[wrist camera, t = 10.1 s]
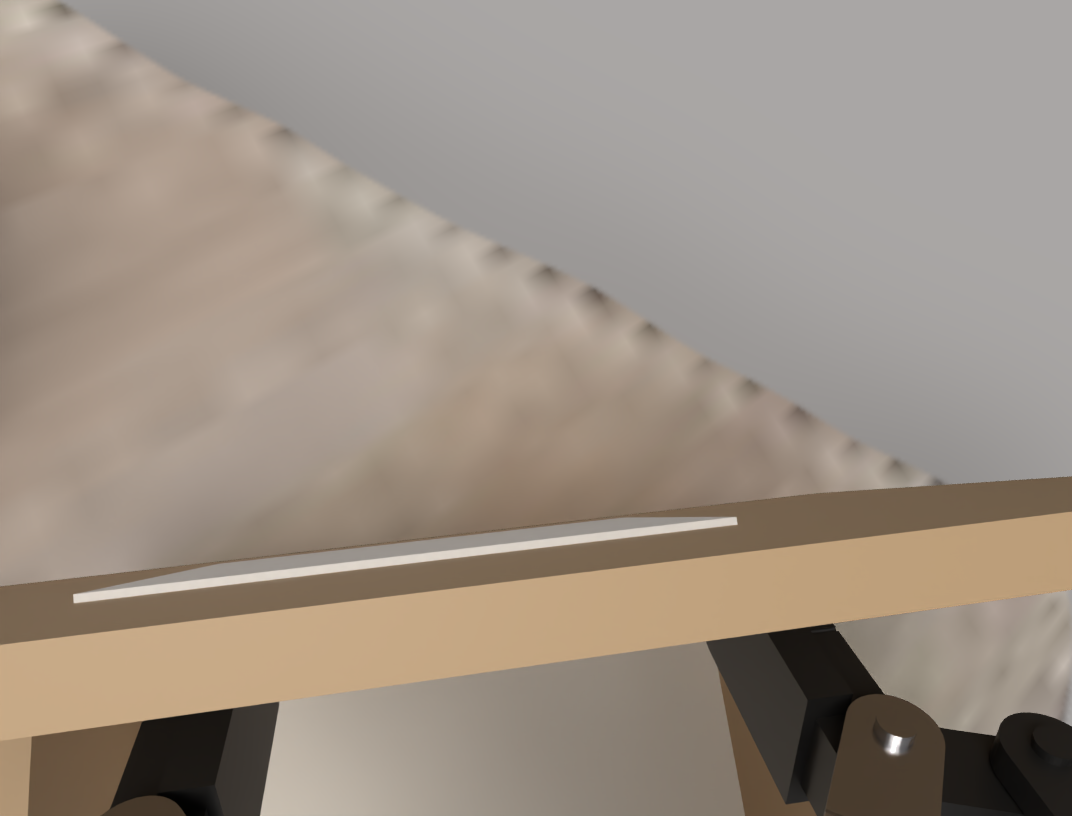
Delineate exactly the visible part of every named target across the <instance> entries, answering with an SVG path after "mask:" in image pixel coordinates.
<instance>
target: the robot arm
mask: <svg viewBox="0 0 1072 816" xmlns="http://www.w3.org/2000/svg"><path fill="white" fill-rule="evenodd" d="M706 643H707V646H708V648H709V651H710V653H711V655H712V657H713V659H714V661H715V663H716V665H717V667H718V669H719V671H720V673H721V675H722V677H723V679H724V681H725V683H726V685H727V687H728V689H729V691H730V693H731V695H732V697H733V699H734V701H735V703H736V705H737V707H738V709H739V711H740V713H741V715H742V717H743V719H744V722H745V724H746V726H747V728H748V730H749V732H750V734H751V736H752V738H753V740H754V742H755V744H756V746H757V748H758V750H759V752H760V754H761V756H762V758H763V760H764V762H765V764H766V766H767V768H768V770H769V772H770V774H771V776H772V778H773V780H774V782H775V784H776V786H777V788H778V790H779V792H780V794H781V796H782V798H783V800H784V802H785V804H786V805H787V804H793V803H799V802H806V801H809V802H810V804H811V806H812V808H813V809H814V811H815V813H816V815H817V816H1072V726H1070V725H1068V724H1066V723H1064V722H1062V721H1060V720H1057V719H1055V718H1052V717H1049V716H1046V715H1042V714H1037V713H1016V714H1013V715H1010V716H1008V717H1007V718H1005V719H1004V720H1003V721H1002V723H1001V724H1000V727H999V730H998V732H997V735H996V736H992V735H985V734H978V733H971V732H964V731H957V730H950V729H944V728H939V727H938V725H937V724H936V723H935V721H934V720H933V719H932V718H931V717H930V716H929V715H928V714H926V713H925V712H924V711H923V710H921V709H920V708H918V707H917V706H915V705H913V704H911V703H910V702H908V701H905V700H903V699H900V698H897V697H894V696H889V695H885V694H884V693H883V692H882V691H881V689H880V688H879V686H878V685H877V684H876V682H875V681H874V680H873V678H872V677H871V675H870V674H869V673H868V671H867V670H866V669H865V667H864V666H863V664H862V663H861V662H860V660H859V659H858V657H857V656H856V655H855V653H854V652H853V651H852V649H851V648H850V646H849V645H848V644H847V642H846V641H845V639H844V638H843V637H842V635H841V634H840V633H839V631H836V629H835V626H834V624H833V623H832V624H825V625H818V626H811V627H804V628H797V629H789V630H782V631H775V632H768V633H761V634H754V635H747V636H740V637H733V638H726V639H719V640H712V641H706ZM278 710H279V702H273V703H265V704H258V705H251V706H244V707H237V708H230V709H223V710H216V711H209V712H202V713H195V714H188V715H181V716H173V717H166V718H159V719H152V720H145V721H143V722H142V723H141V726H140V729H139V731H138V734H137V737H136V740H135V742H134V745H133V748H132V750H131V753H130V756H129V759H128V761H127V764H126V767H125V770H124V772H123V775H122V778H121V780H120V783H119V786H118V789H117V791H116V794H115V797H114V799H113V802H112V805H111V807H110V809H109V810H108V811H106V812H105V813H104V814H102V815H101V816H260V813H261V807H262V801H263V795H264V790H265V784H266V778H267V773H268V767H269V761H270V755H271V750H272V744H273V738H274V733H275V727H276V721H277V715H278Z"/></svg>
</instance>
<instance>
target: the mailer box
mask: <svg viewBox="0 0 1072 816" xmlns="http://www.w3.org/2000/svg"><path fill="white" fill-rule="evenodd" d="M142 722H143V721H138V722H131V723H124V724H117V725H110V726H103V727H96V728H88V729H81V730H74V731H67V732H60V733H53V734H46V735H39V736H32V737H25V738H18V739H11V740H3V741H0V816H101V815H102V814H104V813H105V812H106V811H108V810H109V809H110V807H111V805H112V802H113V799H114V797H115V794H116V791H117V789H118V786H119V783H120V780H121V778H122V775H123V772H124V770H125V767H126V764H127V761H128V759H129V756H130V753H131V750H132V748H133V745H134V742H135V740H136V737H137V734H138V731H139V729H140V726H141V723H142ZM260 816H817V815H816V813H815V811H814V809H813V808H812V806H811V804H810V802H809V801H806V802H799V803H793V804H787V805H786V804H785V802H784V800H783V798H782V796H781V794H780V792H779V790H778V788H777V786H776V784H775V782H774V780H773V778H772V776H771V774H770V772H769V770H768V768H767V766H766V764H765V762H764V760H763V758H762V756H761V754H760V752H759V750H758V748H757V746H756V744H755V742H754V740H753V738H752V736H751V734H750V732H749V730H748V728H747V726H746V724H745V722H744V719H743V717H742V715H741V713H740V711H739V709H738V707H737V705H736V703H735V701H734V699H733V697H732V695H731V693H730V691H729V689H728V687H727V685H726V683H725V681H724V679H723V677H722V675H721V673H720V671H719V669H718V667H717V665H716V663H715V661H714V659H713V657H712V655H711V653H710V651H709V648H708V646H707V643H706V641H705V642H697V643H690V644H683V645H676V646H669V647H662V648H655V649H648V650H641V651H634V652H627V653H620V654H612V655H605V656H598V657H591V658H584V659H577V660H570V661H563V662H556V663H549V664H542V665H535V666H527V667H520V668H513V669H506V670H499V671H492V672H485V673H478V674H471V675H464V676H457V677H450V678H443V679H435V680H428V681H421V682H414V683H407V684H400V685H393V686H386V687H379V688H372V689H365V690H358V691H350V692H343V693H336V694H329V695H322V696H315V697H308V698H301V699H294V700H287V701H280V702H279V710H278V715H277V721H276V727H275V733H274V738H273V744H272V750H271V755H270V761H269V767H268V773H267V778H266V784H265V790H264V795H263V801H262V807H261V813H260Z"/></svg>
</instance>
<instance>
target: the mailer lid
mask: <svg viewBox="0 0 1072 816" xmlns="http://www.w3.org/2000/svg"><path fill="white" fill-rule="evenodd" d="M1066 590H1072V477H1058V478H1042V479H1027V480H1011V481H996V482H981V483H966V484H951V485H936V486H921V487H905V488H890V489H875V490H860V491H845V492H830V493H816V494H808V495H799V496H790V497H781V498H773V499H764V500H755V501H746V502H737V503H729V504H720V505H711V506H702V507H694V508H685V509H676V510H667V511H659V512H650V513H641V514H632V515H624V516H615V517H606V518H597V519H589V520H580V521H571V522H562V523H553V524H545V525H536V526H527V527H518V528H510V529H501V530H492V531H483V532H475V533H466V534H457V535H448V536H440V537H431V538H422V539H413V540H405V541H396V542H387V543H378V544H369V545H361V546H352V547H343V548H334V549H326V550H317V551H308V552H299V553H291V554H282V555H273V556H264V557H256V558H247V559H238V560H229V561H220V562H212V563H203V564H194V565H185V566H177V567H168V568H159V569H150V570H142V571H133V572H124V573H115V574H107V575H98V576H89V577H80V578H72V579H63V580H54V581H45V582H36V583H28V584H19V585H10V586H1V587H0V741H3V740H11V739H18V738H25V737H32V736H39V735H46V734H53V733H60V732H67V731H74V730H81V729H88V728H96V727H103V726H110V725H117V724H124V723H131V722H138V721H145V720H152V719H159V718H166V717H173V716H181V715H188V714H195V713H202V712H209V711H216V710H223V709H230V708H237V707H244V706H251V705H258V704H265V703H273V702H280V701H287V700H294V699H301V698H308V697H315V696H322V695H329V694H336V693H343V692H350V691H358V690H365V689H372V688H379V687H386V686H393V685H400V684H407V683H414V682H421V681H428V680H435V679H443V678H450V677H457V676H464V675H471V674H478V673H485V672H492V671H499V670H506V669H513V668H520V667H527V666H535V665H542V664H549V663H556V662H563V661H570V660H577V659H584V658H591V657H598V656H605V655H612V654H620V653H627V652H634V651H641V650H648V649H655V648H662V647H669V646H676V645H683V644H690V643H697V642H705V641H712V640H719V639H726V638H733V637H740V636H747V635H754V634H761V633H768V632H775V631H782V630H789V629H797V628H804V627H811V626H818V625H825V624H832V623H839V622H846V621H853V620H860V619H867V618H874V617H882V616H889V615H896V614H903V613H910V612H917V611H924V610H931V609H938V608H945V607H952V606H959V605H967V604H974V603H981V602H988V601H995V600H1002V599H1009V598H1016V597H1023V596H1030V595H1037V594H1044V593H1052V592H1059V591H1066Z"/></svg>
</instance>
